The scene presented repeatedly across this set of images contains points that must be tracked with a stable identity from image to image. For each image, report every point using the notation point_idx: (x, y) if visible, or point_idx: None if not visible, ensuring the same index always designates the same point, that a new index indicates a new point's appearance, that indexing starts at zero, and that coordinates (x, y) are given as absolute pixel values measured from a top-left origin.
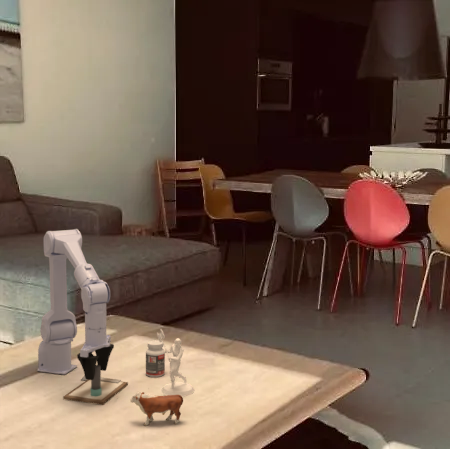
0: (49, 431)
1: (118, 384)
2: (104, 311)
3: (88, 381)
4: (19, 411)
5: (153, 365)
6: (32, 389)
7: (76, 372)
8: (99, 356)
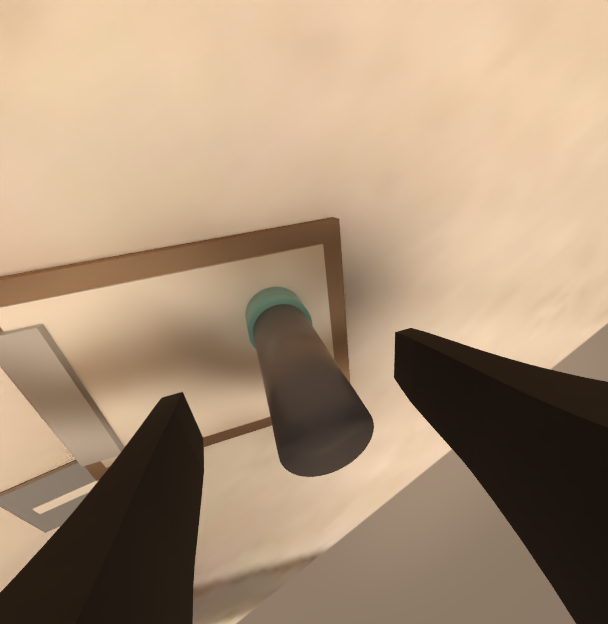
0: (589, 241)
1: (53, 310)
2: None
3: None
4: None
5: None
6: (314, 503)
7: None
8: (175, 597)
